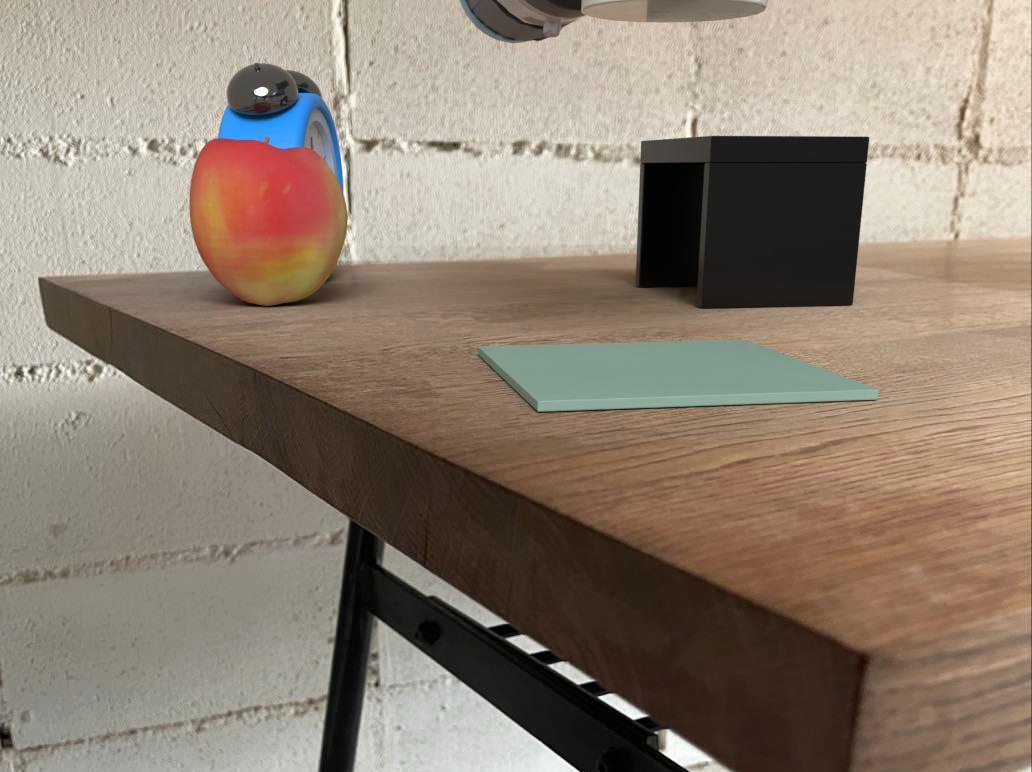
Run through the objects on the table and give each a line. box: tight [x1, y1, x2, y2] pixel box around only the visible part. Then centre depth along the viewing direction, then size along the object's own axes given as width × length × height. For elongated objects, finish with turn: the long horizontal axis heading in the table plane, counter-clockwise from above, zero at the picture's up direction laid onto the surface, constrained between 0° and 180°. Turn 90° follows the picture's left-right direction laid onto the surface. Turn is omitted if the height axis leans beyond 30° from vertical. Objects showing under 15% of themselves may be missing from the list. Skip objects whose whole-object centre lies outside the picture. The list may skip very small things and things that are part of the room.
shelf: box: [634, 135, 870, 309], centre depth 75 cm, size 10×14×10 cm
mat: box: [477, 338, 880, 413], centre depth 47 cm, size 13×13×1 cm
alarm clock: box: [217, 62, 344, 193], centre depth 82 cm, size 13×6×15 cm, turn 174°
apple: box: [188, 136, 349, 307], centre depth 70 cm, size 10×10×10 cm
